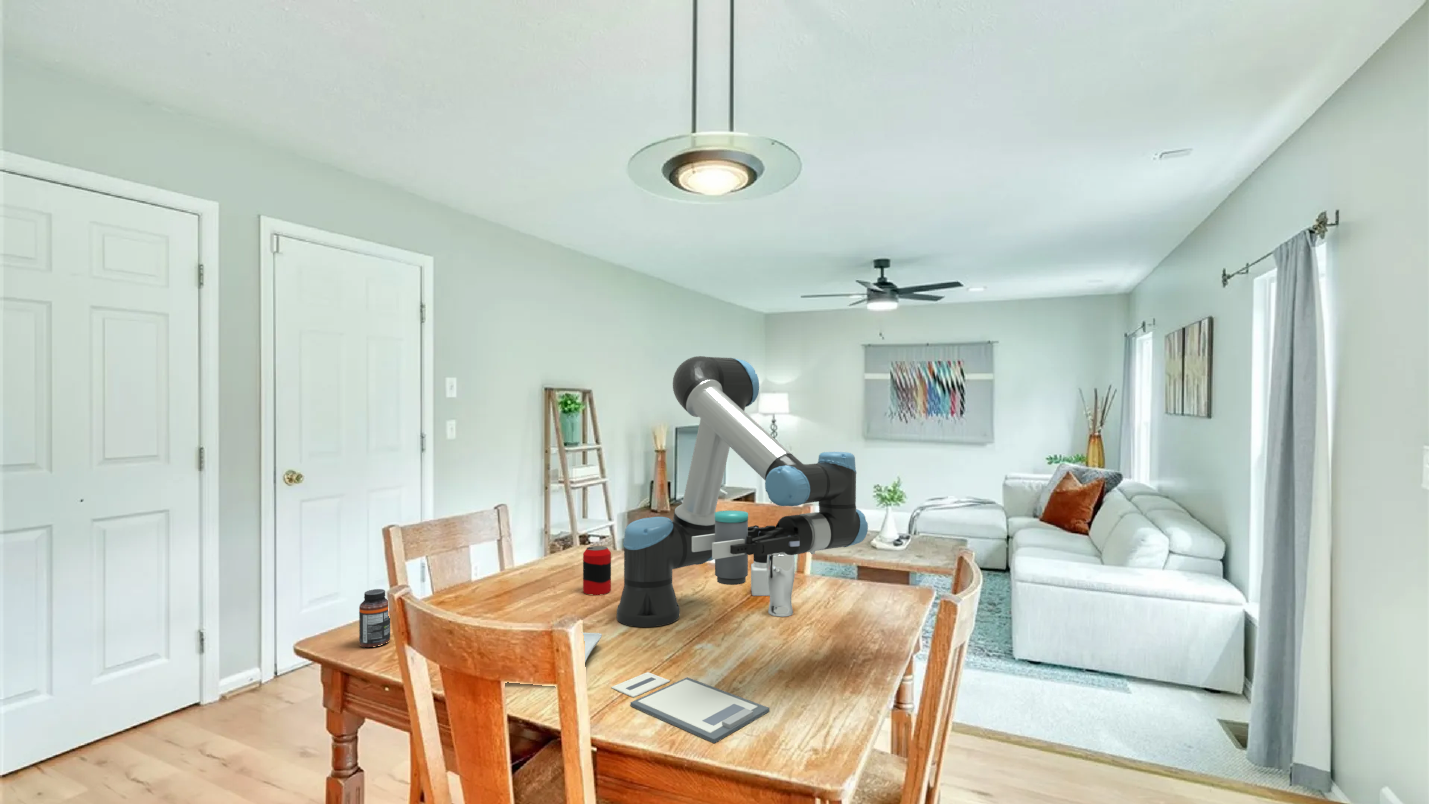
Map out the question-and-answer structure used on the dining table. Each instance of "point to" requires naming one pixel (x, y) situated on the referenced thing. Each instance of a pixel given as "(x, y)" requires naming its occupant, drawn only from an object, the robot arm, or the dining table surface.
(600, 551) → the soda can
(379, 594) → the supplement bottle
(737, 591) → the dining table surface
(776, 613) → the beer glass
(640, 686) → the word card
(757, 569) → the medicine bottle
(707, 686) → the clipboard
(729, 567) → the grey teal cylinder
